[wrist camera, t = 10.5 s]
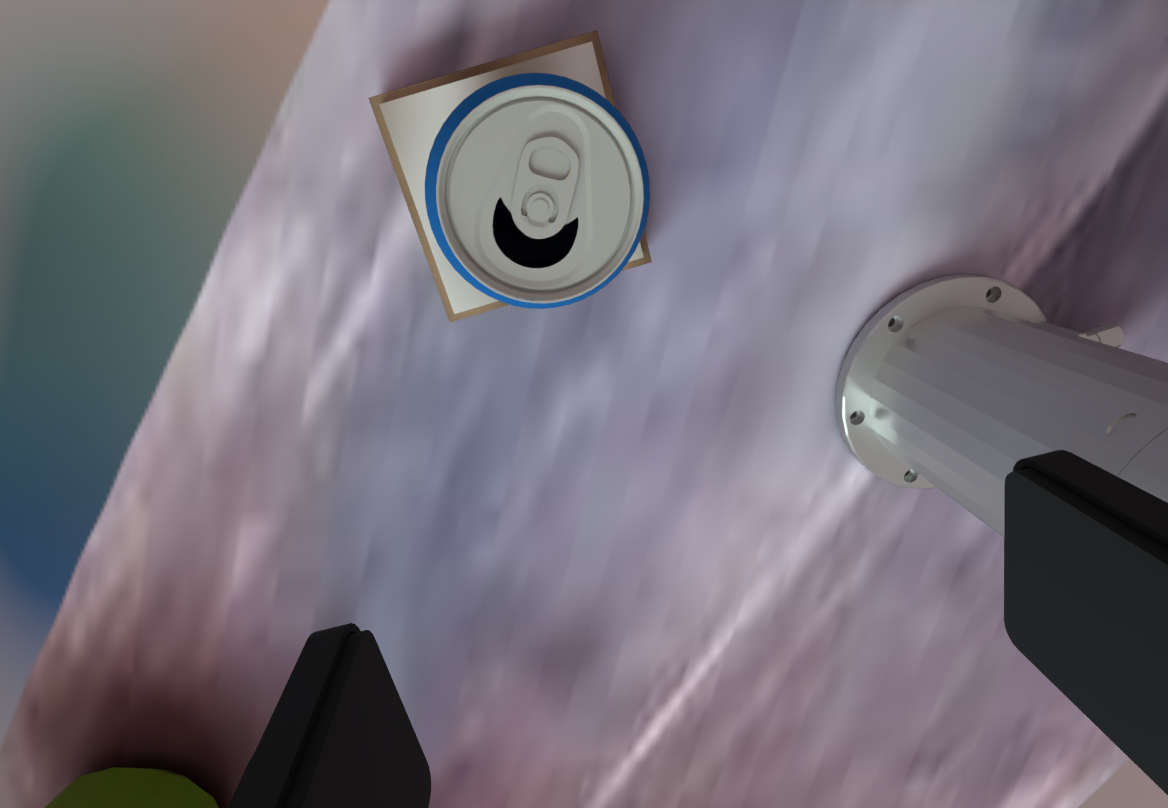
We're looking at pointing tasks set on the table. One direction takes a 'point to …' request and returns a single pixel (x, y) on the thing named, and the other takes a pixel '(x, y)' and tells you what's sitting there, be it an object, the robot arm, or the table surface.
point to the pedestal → (421, 114)
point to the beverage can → (537, 190)
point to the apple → (133, 790)
